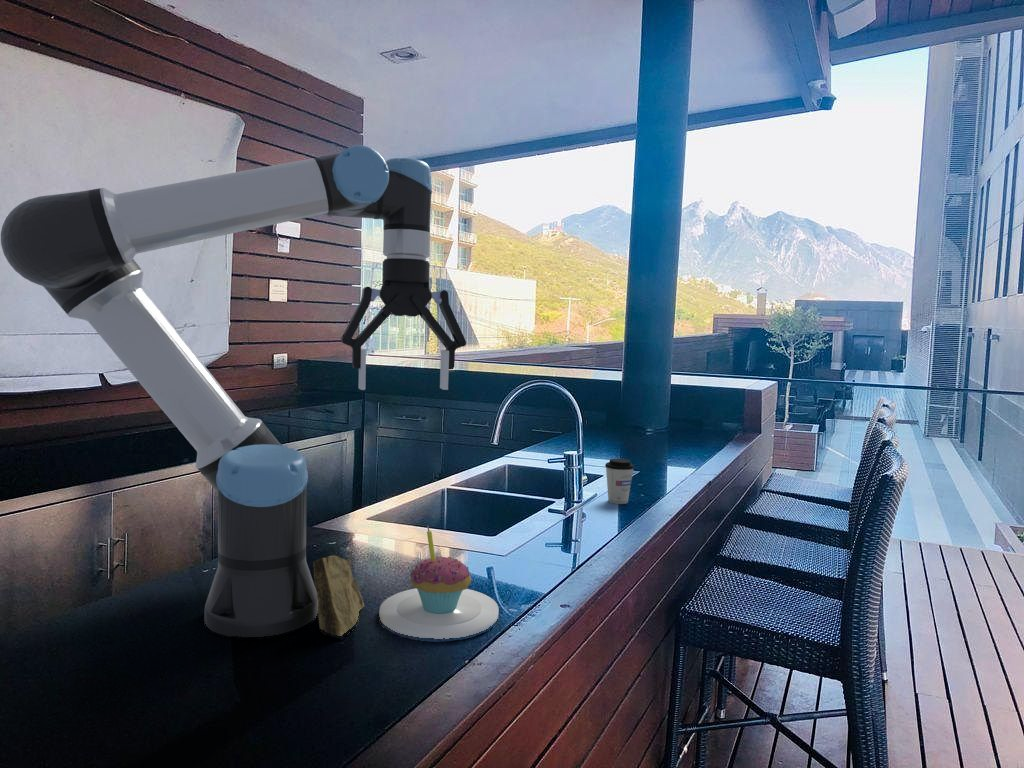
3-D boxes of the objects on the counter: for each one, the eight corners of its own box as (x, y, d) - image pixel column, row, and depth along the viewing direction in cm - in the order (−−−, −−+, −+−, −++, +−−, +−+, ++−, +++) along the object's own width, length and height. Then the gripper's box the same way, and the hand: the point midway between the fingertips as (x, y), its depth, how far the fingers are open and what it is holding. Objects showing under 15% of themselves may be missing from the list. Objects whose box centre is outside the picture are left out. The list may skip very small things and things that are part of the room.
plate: (390, 648, 95) (390, 638, 94) (371, 599, 111) (371, 590, 110) (514, 634, 100) (515, 624, 100) (479, 589, 116) (479, 581, 116)
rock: (343, 583, 110) (288, 593, 102) (372, 545, 108) (318, 552, 100) (378, 643, 105) (322, 658, 97) (409, 605, 102) (355, 618, 94)
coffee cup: (597, 499, 177) (599, 458, 177) (622, 497, 180) (624, 457, 179) (613, 506, 171) (615, 464, 170) (638, 504, 174) (640, 462, 173)
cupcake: (414, 621, 100) (416, 535, 99) (406, 597, 108) (407, 518, 107) (475, 616, 102) (478, 532, 101) (463, 593, 110) (465, 515, 109)
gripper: (473, 264, 126) (470, 386, 128) (325, 255, 118) (323, 386, 120) (486, 261, 119) (482, 391, 121) (329, 252, 111) (327, 391, 113)
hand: (403, 389), depth 121 cm, fingers open, 13 cm apart
